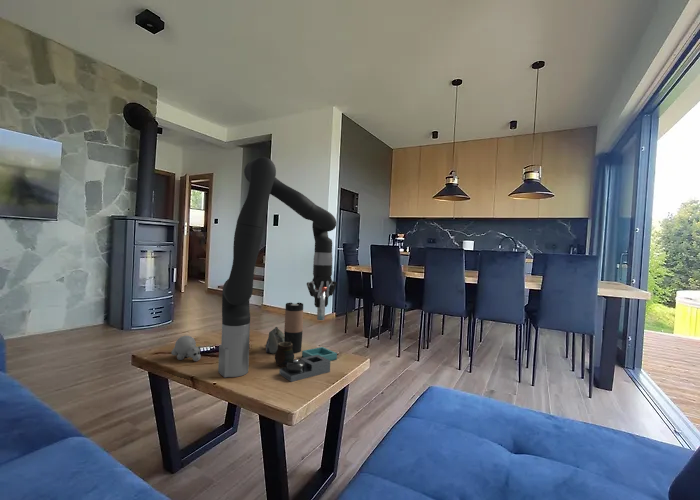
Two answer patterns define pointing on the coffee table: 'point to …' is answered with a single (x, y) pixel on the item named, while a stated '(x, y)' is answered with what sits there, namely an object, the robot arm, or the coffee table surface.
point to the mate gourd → (284, 353)
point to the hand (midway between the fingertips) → (321, 306)
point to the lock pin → (321, 305)
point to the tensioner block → (305, 368)
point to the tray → (320, 353)
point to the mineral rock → (274, 340)
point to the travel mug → (294, 325)
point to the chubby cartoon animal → (186, 348)
